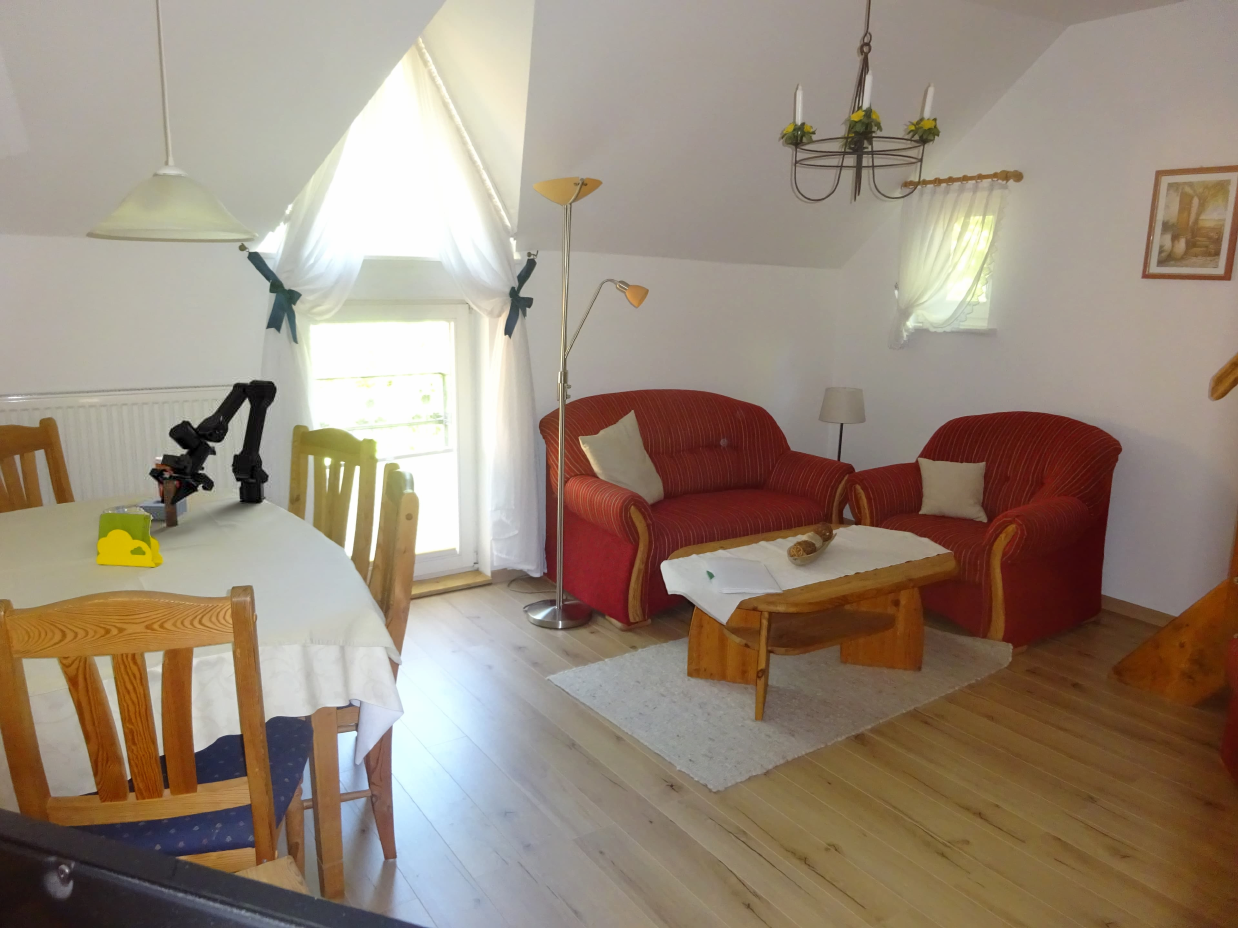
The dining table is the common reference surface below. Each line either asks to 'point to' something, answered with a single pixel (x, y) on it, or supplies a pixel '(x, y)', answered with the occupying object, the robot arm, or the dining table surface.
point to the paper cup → (158, 465)
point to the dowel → (169, 509)
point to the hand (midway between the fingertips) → (166, 503)
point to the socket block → (161, 507)
